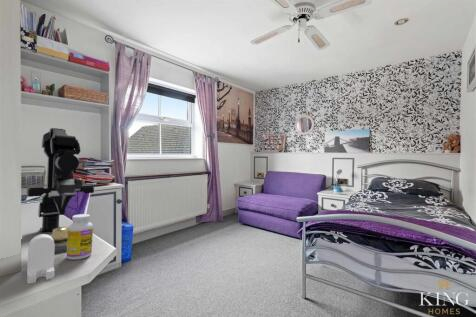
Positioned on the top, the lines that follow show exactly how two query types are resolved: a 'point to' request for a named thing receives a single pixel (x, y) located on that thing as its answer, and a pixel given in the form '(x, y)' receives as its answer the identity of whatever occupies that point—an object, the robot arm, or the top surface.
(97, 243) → the top surface
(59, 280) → the top surface
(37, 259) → the cable organizer
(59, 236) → the gold rounded cylinder
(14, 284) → the top surface
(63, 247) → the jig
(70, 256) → the supplement bottle
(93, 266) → the top surface
